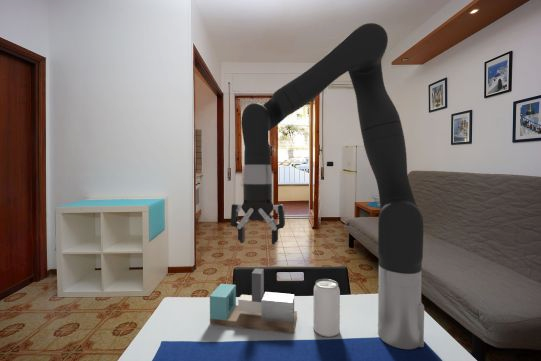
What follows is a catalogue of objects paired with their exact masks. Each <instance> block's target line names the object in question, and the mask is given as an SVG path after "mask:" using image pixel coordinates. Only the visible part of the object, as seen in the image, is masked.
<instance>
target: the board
mask: <svg viewBox="0 0 541 361" xmlns="http://www.w3.org/2000/svg"><path fill="white" fill-rule="evenodd" d="M297 312H298V311H296V310H294V318H293V323H292V324H290V323H280V322H271V321H261V313H257V312H247V311H238V304H236V306H235V308H234V309H233V311H232V312H231V314H230V315H229V317H228V318H227V320H219V319H210V318H209V325H213V326H222V327H223V326H225V327H231V328H241V329H250V330H258V331H259V330H261V331H269V332H277V333H278V332H279V333H286V334H294V333H295V327H296V322H297V316H298V314H297Z"/></svg>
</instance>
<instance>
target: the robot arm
mask: <svg viewBox="0 0 541 361" xmlns="http://www.w3.org/2000/svg"><path fill="white" fill-rule="evenodd" d="M388 40H389V39H388V33H387V31H386V29H385V28H384V27H383V26H382V25H380V24H379V23H374V22H373V23H372V22H371V23H370V22H369V23H368V22H367V23H364V24H362V25H360V26H358V27H357V28H355V29H354V30H353V31H351V32H350V34H348V35H347V36H346V37H345V38H343V40H342V41H340V43H338V44H337V45H336V46H335V47H334V48H333V49H331V51H329V52H328V53H327V54H326V55H324V56H323V57H321V59H320V60H318V61H317V62H316V63H314V64H313V65H312V66H311V67H309V68H308V69H307V70H305V71H304V72H302V73H300V74H299V75H297V76H296V77H295V78H293V79H291V80H290V81H289V82H287V83H285V84H284V85H283V86H281V87H279V88H278V89H277V90H275V91H274V93H273V94H272V95H271V96H272V97H271V98H270V99H269V100H268V101H267V102H265V103H264V104H261V103H258V102H252V103H249V104H247V106H246V107H245V108H244V109H243V111H242V114H241V131H242V132H241V133H242V138H243V145H244V152H243V154H244V157H243V161H244V162H243V163H244V165H243V166H244V167H243V175H242V176H243V177H242V182H243V187H242V188H243V189H242V190H243V194H242V195H243V198H242V199H243V203H242V204H240V203H237V202H236V203H233V204H231V208H230V209H231V210H230V211H231V212H230V226H231V227H235V228H236V229H237V240H238V241H239V243H240V244H244V243H245V242H246V237H245V236H246V231H245V230H246V228H245V226H246V224H247V223H248V222H249V221H251V222H256V221H258V222H264V221H265V222H266V224H268V225H269V227H270V228H271V229H272V230H271V245H275V244H276V243H277V242H278V241H279V230H280V229H283V228H284V227H285V226H286V216H285V205H284V204H282V203H281V204H273V174H272V173H273V171H272V165H271V164H272V150H271V145H270V142H269V132H270V131H271V130H273V129H274V128H275V127H276V126H277V125H279V124H280V123H281V122H283V121H284V120H285V118H287V117H289V116H290V115H292V114H293V113H295V112H297V111H298V110H300V109H301V108H303V107H304V106H306V105H307V104H309V103H310V102H312V101H313V100H314V99H316V98H317V97H318V96H319V95H320V94H321V93H322V92H323V91H325V89H326V88H328V87H329V86H330V85H331V84H332V83H333V82H335V81H336V80H337V79H339V77H342V75H344V74H346V73H347V72H348V74H349V78H350V81H351V84H352V87H353V90H354V93H355V99H356V107H357V114H358V121H359V127H360V132H361V138H362V141H363V147H364V151H365V154H366V157H367V159H368V162H369V165H370V168H371V171H372V173H373V175H374V177H375V180H376V185H377V189H378V190H377V191H378V197H379V198H378V199H379V209H380V211H379V215H378V225H377V226H378V228H377V230H378V232H377V235H378V236H377V238H378V239H377V240H378V241H377V242H378V243H377V244H378V245H377V246H378V247H377V250H378V251H377V252H378V289H377V290H378V296H377V297H378V299H377V301H378V305H377V310H378V311H377V335H378V337H379V338H380V340H382V341H383V342H384V343H386V344H387V345H389V346H391V347H393V348H397V349H402V350H414V349H417V348H424V345H425V344H424V342H425V341H424V339H425V337H424V336H425V335H424V334H425V330H424V329H425V305H424V304H423V303H422V271H423V270H422V267H423V264H422V263H423V258H424V218H423V215H422V212H421V211H420V209H419V207H418V205H417V202H416V200H415V197H414V194H413V190H412V188H411V184H410V181H409V175H408V174H409V173H408V162H407V161H408V158H407V148H406V139H405V133H404V131H403V130H404V129H403V126H402V122H401V118H400V115H399V112H398V110H397V108H396V106H395V104H394V102H393V101H392V99H391V96H390V95H389V94H388V92H387V90H386V87H385V83H384V77H383V69H382V59H383V57H384V55H385V53H386V50H387V47H388V43H389V42H388ZM241 209H242V211H243V213H244V215H243V217H242V218H241V220H240V221H239V212H240V211H241ZM274 210H275V213H276V214H278V223H277V222H276V220H275V219H274V217H273V215H272V214H271V213H273V211H274Z"/></svg>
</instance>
